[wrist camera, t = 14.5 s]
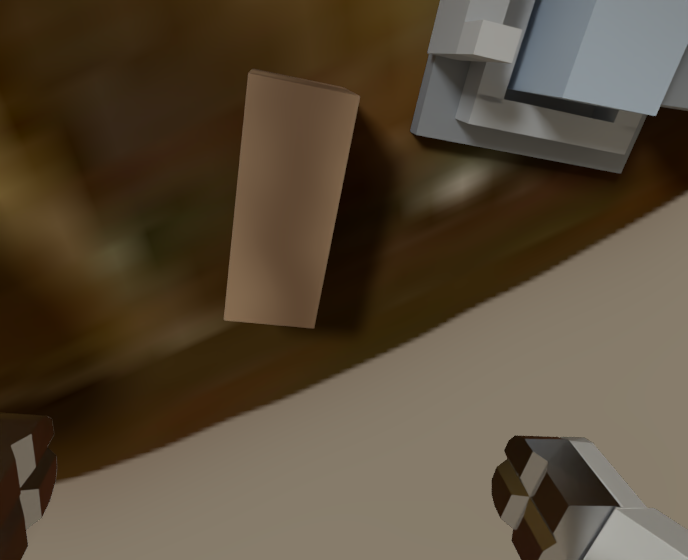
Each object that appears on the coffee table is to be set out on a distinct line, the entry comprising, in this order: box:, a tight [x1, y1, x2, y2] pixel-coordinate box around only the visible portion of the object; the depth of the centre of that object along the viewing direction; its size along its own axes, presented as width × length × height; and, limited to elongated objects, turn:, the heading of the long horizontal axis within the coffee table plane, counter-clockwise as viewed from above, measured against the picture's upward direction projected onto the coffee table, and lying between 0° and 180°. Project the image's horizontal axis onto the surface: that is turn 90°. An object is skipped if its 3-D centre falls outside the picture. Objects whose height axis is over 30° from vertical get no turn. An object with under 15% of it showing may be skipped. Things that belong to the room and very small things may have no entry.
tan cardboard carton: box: [224, 69, 360, 328], centre depth 20 cm, size 4×10×4 cm, turn 169°
